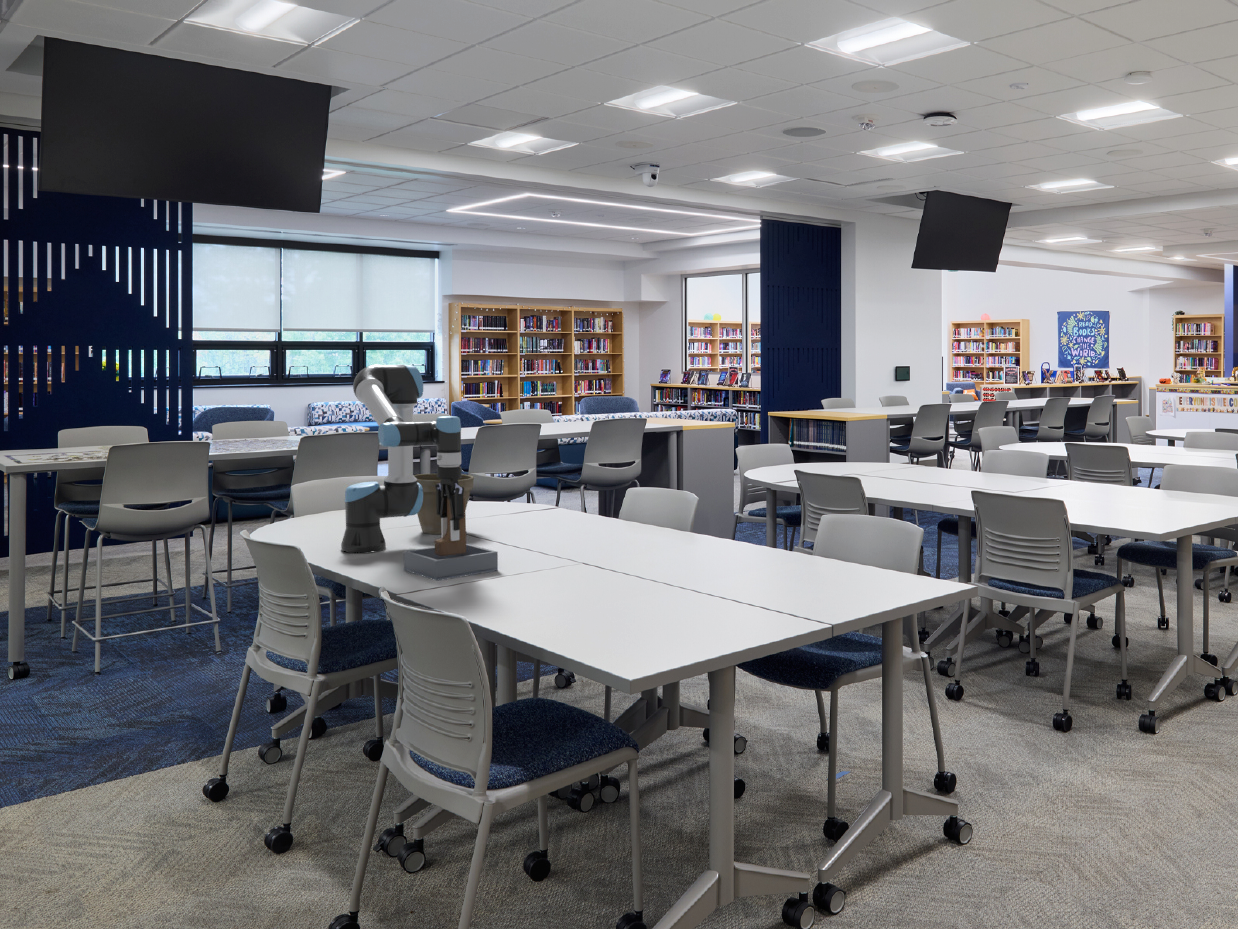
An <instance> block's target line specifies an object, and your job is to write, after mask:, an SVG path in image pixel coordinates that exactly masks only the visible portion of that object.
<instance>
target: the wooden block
mask: <svg viewBox="0 0 1238 929" xmlns="http://www.w3.org/2000/svg"><path fill="white" fill-rule="evenodd" d="M463 502H464V518H461V519H460V520H459V527H460V529H459V540H456V541H451V526H450V519H452V515H451V508H450V502H449V499H448V498H447V532H446V534H445V536H444V537H443V538H442V537H440V538H438V539H435V540H434V547H435V554H436V555H439V556H447V555H455V554H463V553H466V544H467V528H466V527H467V526H466V522H467V521H466V519H467V518H466V510H465V497H463Z"/></svg>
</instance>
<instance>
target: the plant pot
mask: <svg viewBox="0 0 1238 929" xmlns="http://www.w3.org/2000/svg"><path fill="white" fill-rule="evenodd" d="M413 475H414V476H415V477H416V478H417V483H419V484H421V486H422V489H423V490H422V491H423V502H422V506H421V509H420V510H419V512H418V513H417V514H416V515H417V518H418V522H419V524H420V529H421V531H422V532H423V534H424V533H425V534H428V535H442V534H441V518H440V515H437V503H436V487H435V485H436V484H440V481H441V479H439V478H438V477H437V473H421V474H413ZM474 479H475V478H474V476H473V475H469V474H463V473H461V478H459V479H458V483H459V486H460V487H464V494H463V497H465V511H466V510H467V506H468V503H469V499H470V495H471V491H472V490H473V489H474ZM454 496H455V495H454Z"/></svg>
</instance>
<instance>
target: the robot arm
mask: <svg viewBox="0 0 1238 929" xmlns="http://www.w3.org/2000/svg"><path fill="white" fill-rule="evenodd" d="M352 390H353V393H354V396H355V397H356V399H357V401H359V402H360V403H361V404H364V406H365V407H366V408H367V410H368V411H369V413H370V414H371V416H372V418H373V419H374V421H375V423H376V424H377V425H378V431H377V434H378V435H377V437H378V438H377V439H378V441H379V444H380V445H381V446H382V447H385V448H386V447H387V451H388V452H387V454H388V455H387V463H388V464H387V466H388V468H387V471H388V472H387V476H386V477H385V478H383V485H380V483H379V481H363V482H358V483H354V484H351V485H349V486H347V487H346V488H345V494H344V506H345V511H344V512H345V530H344V534H343V537H342V541H341V544H340V546H341V547H340V548H341V549H340V550H341V551H342V552H344V551H346V552H345V553H349V552H356V553H355V554H361V553H360V552H368V553H372V552H371V551H376V552H380V550H381V551H383V549H384V550H385V549H386V548H387V547H386V546H387V544H386V542H387V541H386V540H385V536H384V535H383V531H382V529H381V519H388V518H398V517H399V518H400V517H404V518H406V517H410V516H415V515H417V513H418V512H419V510H420V509H421V506H422V502H423V491H422V490H423V489H422V486H421V484H419V483H417V478H416V477H415V476H414V475H415V474H414V455H413V454H414V452H413V451H414V447H413V446H418V447H419V446H436V464H437V468H436V471H437V472H436V474H437V477H438V478H439V479H441V481H440V484H436V485H435V487H436V503H437V515H440V518H441V534H440V535H441V538H443V537H444V536H445V534H446V532H447V498H448V499H449V502H450V508H451V515H452V519H450V526H451V541H456V540H459V529H460V527H459V520H460V519H461V518H464V502H463V494H464V487H460V486H459V483H458V479H459V478H461V474H462V466H461V464H462V425H461V418H460V417H458V416H454V415H453V416H452V415H450V416H449V415H448V416H446V415H445V416H443V415H442V416H438V417H436V419H435V420H430V421H414V407H416V406H417V404H418V399H420V398H422V396H423V392H424V382H423V377H422V374H421V372H420V370H419V368H417V366H415V365H412V364H411V365H410V364H372V365H368V366H366V367H364V368H362V369H361V370H360V371H359V372H358V373H357V374H356V376H355V378H354V380H353V385H352ZM454 495H455V496H454ZM357 552H358V553H357Z"/></svg>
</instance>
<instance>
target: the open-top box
mask: <svg viewBox="0 0 1238 929" xmlns="http://www.w3.org/2000/svg"><path fill="white" fill-rule="evenodd" d="M498 558H499V556H498V551H495V550H492V549H490V548H484V547H480V546H477V545H473V544H468V543H466V553H463V554H455V555H447V556H439V555H436V554H435V546H433V547H426V548H425V547H424V548H417V549H409V550H404V551H403V570H404V569H405V570H404V571H406V570H407V571H406V572H409V573H412V572H414V573H413V574H415V573H416V575H419V576H421V575H423V576H422V577H424V576H425V578H428V579H430V578H432V579H431V580H433V579H434V581H442V579H444V580H448V579H447V578H450V579H454V578H461V577H460V576H462V577H466V576H465V575H468V576H473V575H474V576H475V575H479V574H478V573H480V574H483V573H482V572H486V573H489V572H491V571H492V572H496V571H495V570H498V569H499V566H498V565H499V564H498V563H499V562H498V560H499V559H498ZM498 571H499V570H498Z"/></svg>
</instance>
